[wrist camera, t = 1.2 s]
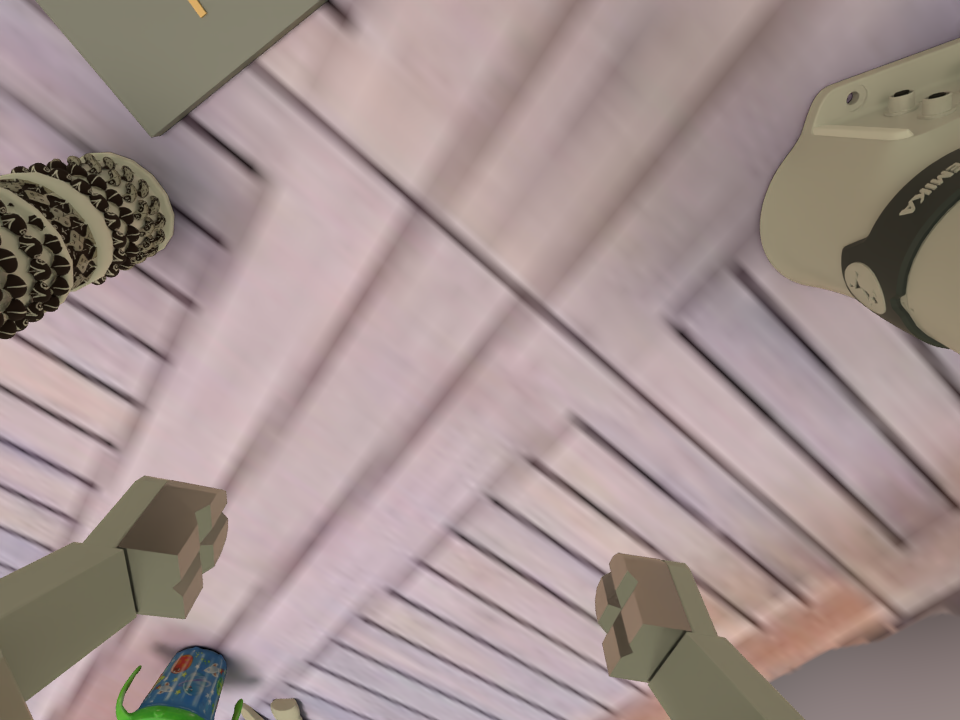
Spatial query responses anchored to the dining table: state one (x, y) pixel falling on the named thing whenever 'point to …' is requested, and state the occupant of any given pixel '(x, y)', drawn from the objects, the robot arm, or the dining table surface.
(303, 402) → the dining table surface
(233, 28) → the grey square panel
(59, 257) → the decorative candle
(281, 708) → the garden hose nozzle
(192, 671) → the snack cup
